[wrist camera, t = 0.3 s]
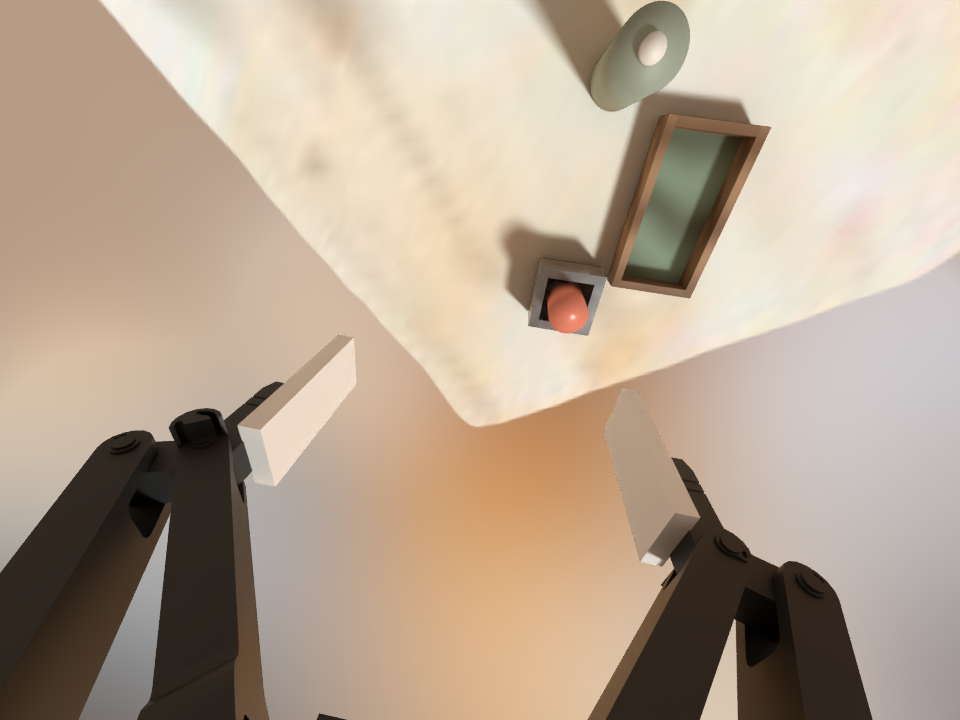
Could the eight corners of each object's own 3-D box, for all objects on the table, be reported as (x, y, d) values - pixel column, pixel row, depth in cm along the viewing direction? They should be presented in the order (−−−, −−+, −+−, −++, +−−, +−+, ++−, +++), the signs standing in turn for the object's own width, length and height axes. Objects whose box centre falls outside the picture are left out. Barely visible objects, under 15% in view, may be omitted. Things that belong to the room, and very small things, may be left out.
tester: (540, 257, 39) (540, 267, 36) (600, 266, 39) (606, 277, 35) (528, 312, 43) (528, 326, 40) (583, 321, 43) (587, 335, 39)
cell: (599, 42, 29) (629, -8, 20) (652, 49, 29) (707, 1, 20) (584, 108, 32) (605, 89, 23) (633, 114, 31) (674, 98, 22)
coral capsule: (550, 275, 39) (553, 294, 34) (585, 281, 38) (593, 300, 33) (543, 308, 41) (544, 329, 36) (576, 313, 41) (582, 336, 35)
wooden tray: (659, 116, 31) (669, 113, 29) (754, 128, 31) (771, 127, 29) (607, 279, 39) (611, 286, 37) (681, 290, 39) (690, 298, 37)
